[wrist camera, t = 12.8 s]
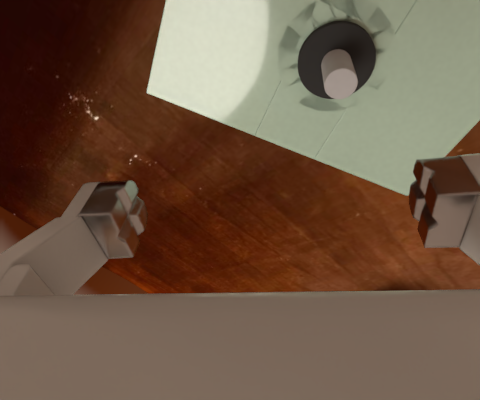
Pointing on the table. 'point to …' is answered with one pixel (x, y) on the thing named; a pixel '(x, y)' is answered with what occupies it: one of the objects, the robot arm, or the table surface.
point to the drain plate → (320, 109)
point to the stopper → (336, 60)
